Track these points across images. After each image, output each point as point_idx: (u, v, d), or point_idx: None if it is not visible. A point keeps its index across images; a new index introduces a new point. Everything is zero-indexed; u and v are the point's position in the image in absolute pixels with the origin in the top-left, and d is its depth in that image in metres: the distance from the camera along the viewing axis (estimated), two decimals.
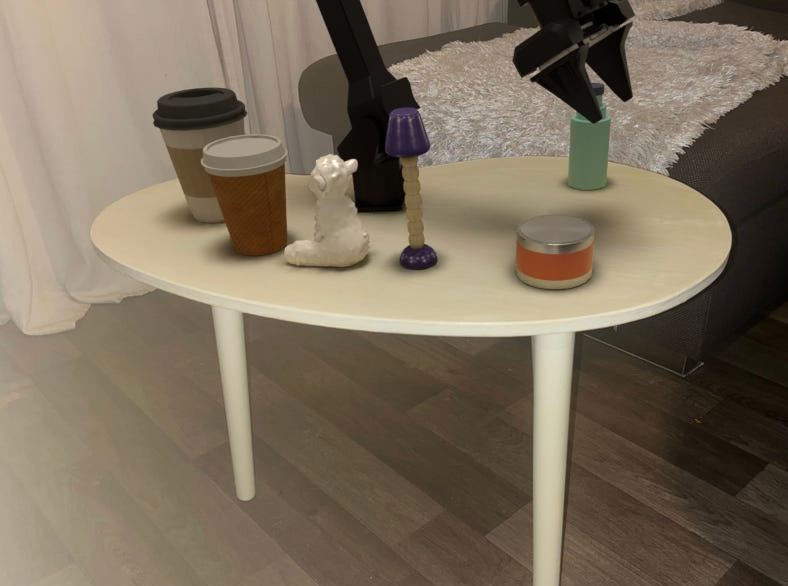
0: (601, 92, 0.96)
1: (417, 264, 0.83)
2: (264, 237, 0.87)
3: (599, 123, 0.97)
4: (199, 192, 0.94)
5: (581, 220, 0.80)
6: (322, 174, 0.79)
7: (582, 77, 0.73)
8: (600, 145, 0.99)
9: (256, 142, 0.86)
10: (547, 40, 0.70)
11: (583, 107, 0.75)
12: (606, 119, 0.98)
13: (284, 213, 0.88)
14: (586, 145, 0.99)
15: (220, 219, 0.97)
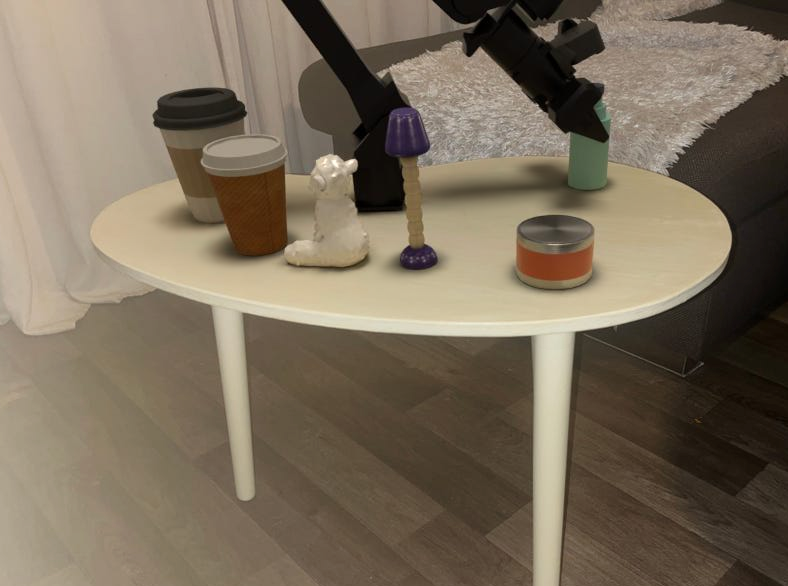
0: (601, 92, 0.96)
1: (417, 264, 0.83)
2: (264, 237, 0.87)
3: None
4: (199, 192, 0.94)
5: (581, 220, 0.80)
6: (322, 174, 0.79)
7: (595, 112, 0.94)
8: (600, 145, 0.99)
9: (256, 141, 0.86)
10: (584, 98, 0.88)
11: (596, 134, 0.97)
12: (606, 119, 0.98)
13: (284, 213, 0.88)
14: (586, 145, 0.99)
15: (220, 219, 0.97)
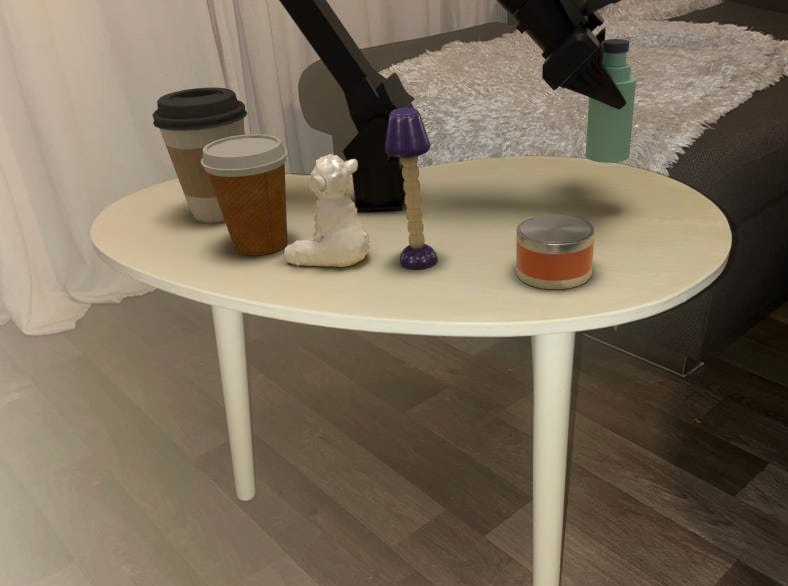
0: (622, 50, 0.84)
1: (417, 264, 0.83)
2: (264, 237, 0.87)
3: None
4: (199, 192, 0.94)
5: (581, 220, 0.80)
6: (322, 174, 0.79)
7: (605, 71, 0.83)
8: (616, 111, 0.86)
9: (256, 141, 0.86)
10: (574, 50, 0.77)
11: (609, 97, 0.85)
12: (626, 82, 0.85)
13: (284, 213, 0.88)
14: (600, 110, 0.87)
15: (220, 219, 0.97)
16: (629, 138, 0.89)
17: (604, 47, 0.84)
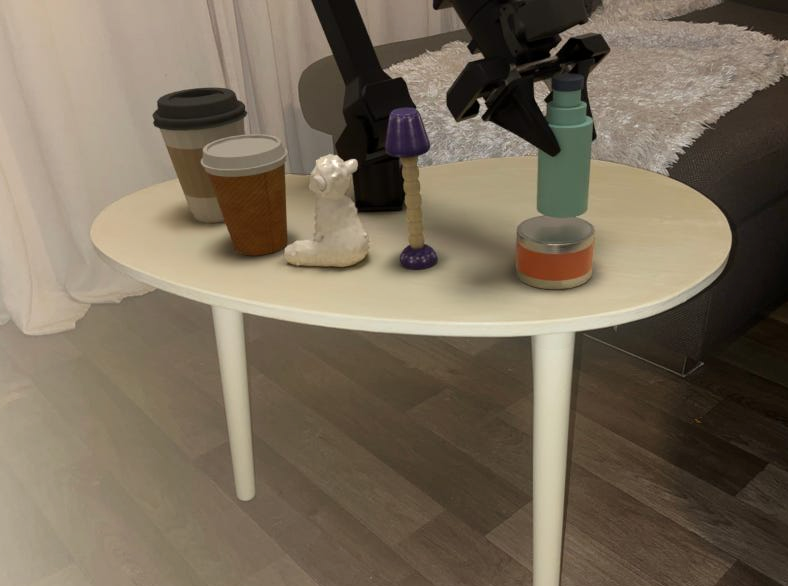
0: (565, 88, 0.70)
1: (417, 264, 0.83)
2: (264, 237, 0.87)
3: (551, 128, 0.72)
4: (199, 192, 0.94)
5: (581, 220, 0.80)
6: (322, 174, 0.79)
7: (529, 110, 0.70)
8: (552, 159, 0.73)
9: (256, 141, 0.86)
10: (466, 80, 0.68)
11: (539, 141, 0.72)
12: (566, 126, 0.71)
13: (284, 213, 0.88)
14: (540, 154, 0.74)
15: (220, 219, 0.97)
16: (576, 193, 0.75)
17: (551, 82, 0.71)
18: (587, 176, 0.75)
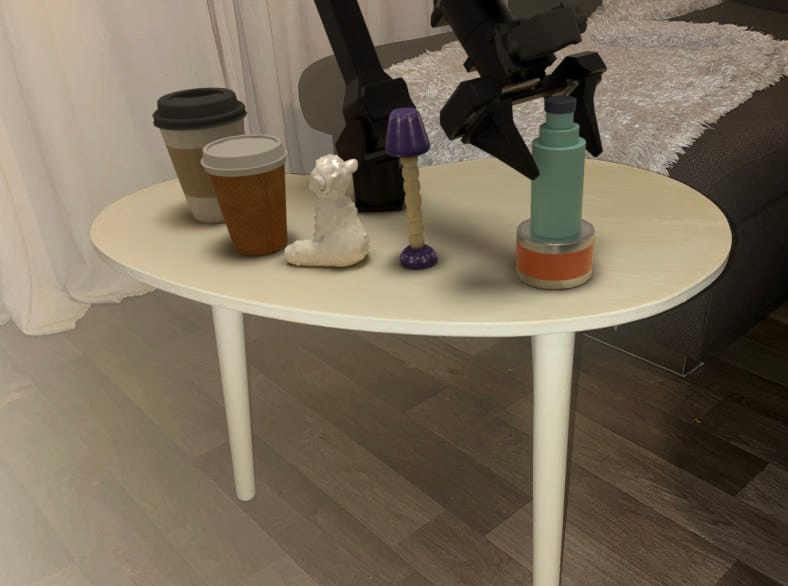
0: (557, 110, 0.70)
1: (417, 264, 0.83)
2: (264, 237, 0.87)
3: (543, 150, 0.72)
4: (199, 192, 0.94)
5: (581, 220, 0.80)
6: (322, 174, 0.79)
7: (508, 133, 0.70)
8: (545, 180, 0.73)
9: (256, 141, 0.86)
10: (458, 100, 0.68)
11: (518, 164, 0.71)
12: (558, 148, 0.72)
13: (284, 213, 0.88)
14: None
15: (220, 219, 0.97)
16: (569, 214, 0.75)
17: (544, 104, 0.72)
18: (580, 197, 0.75)
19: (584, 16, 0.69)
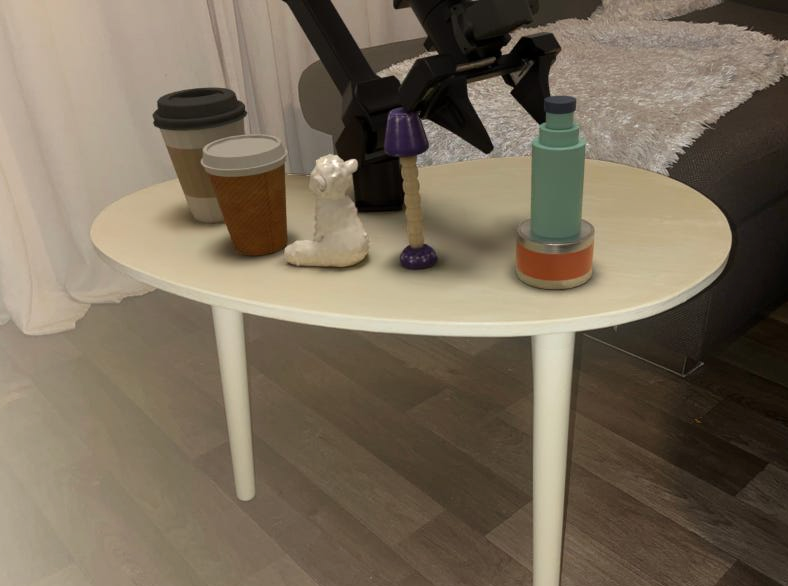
0: (557, 110, 0.70)
1: (417, 264, 0.83)
2: (264, 237, 0.87)
3: (543, 150, 0.72)
4: (199, 192, 0.94)
5: (581, 220, 0.80)
6: (322, 174, 0.79)
7: (462, 109, 0.73)
8: (545, 180, 0.73)
9: (256, 141, 0.86)
10: (414, 76, 0.72)
11: (473, 139, 0.75)
12: (558, 148, 0.72)
13: (284, 213, 0.88)
14: (533, 174, 0.75)
15: (220, 219, 0.97)
16: (569, 214, 0.75)
17: (544, 104, 0.72)
18: (580, 197, 0.75)
19: None
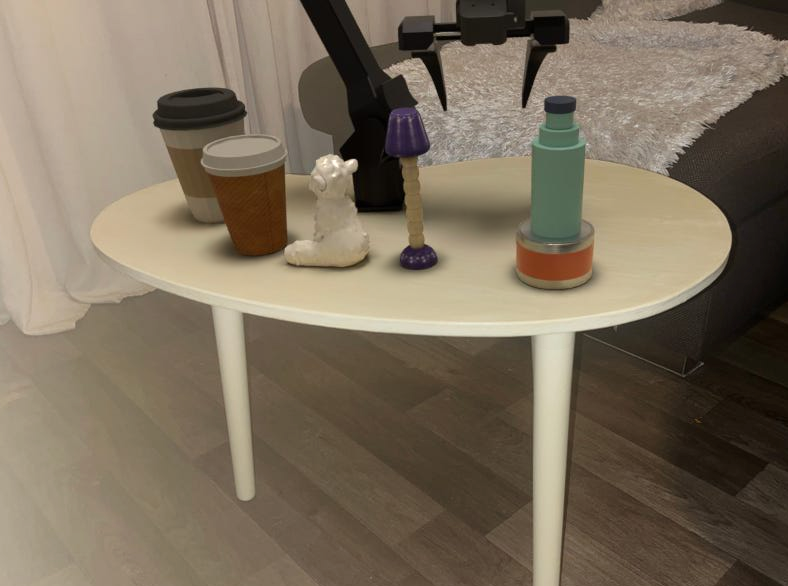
0: (557, 110, 0.70)
1: (417, 264, 0.83)
2: (264, 237, 0.87)
3: (543, 150, 0.72)
4: (199, 192, 0.94)
5: (581, 220, 0.80)
6: (322, 174, 0.79)
7: None
8: (545, 180, 0.73)
9: (256, 141, 0.86)
10: None
11: None
12: (558, 148, 0.72)
13: (284, 213, 0.88)
14: (533, 174, 0.75)
15: (220, 219, 0.97)
16: (569, 214, 0.75)
17: (544, 104, 0.72)
18: (580, 197, 0.75)
19: (514, 25, 0.77)
